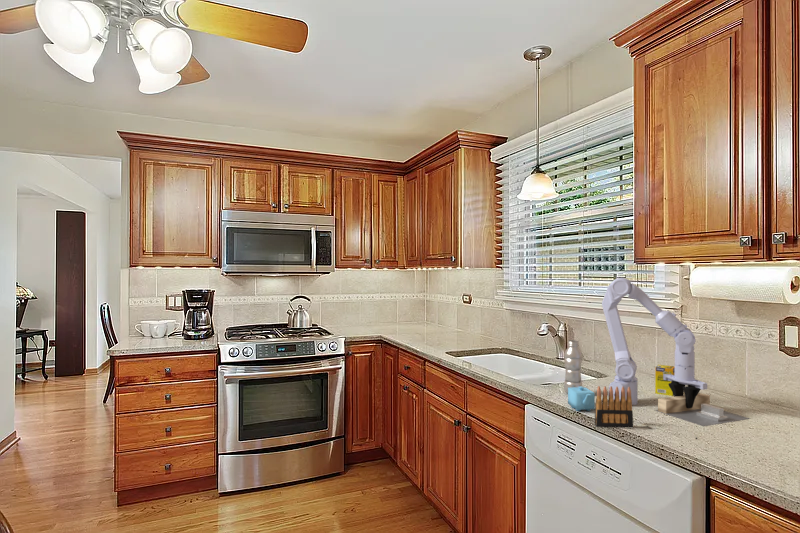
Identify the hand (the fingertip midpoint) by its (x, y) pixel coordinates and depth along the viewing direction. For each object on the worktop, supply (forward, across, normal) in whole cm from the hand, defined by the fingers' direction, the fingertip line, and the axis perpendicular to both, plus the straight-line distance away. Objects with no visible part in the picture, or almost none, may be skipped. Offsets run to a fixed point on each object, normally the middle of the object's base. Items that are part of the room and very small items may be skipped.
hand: (684, 406), depth 160 cm
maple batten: (+1, 0, 0) cm, 1 cm away
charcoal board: (+2, -5, 0) cm, 5 cm away
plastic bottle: (+2, +31, +19) cm, 36 cm away
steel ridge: (+1, -10, 0) cm, 10 cm away
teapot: (+2, +14, +30) cm, 33 cm away
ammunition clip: (+2, -3, +33) cm, 33 cm away
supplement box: (+2, +18, -12) cm, 21 cm away
